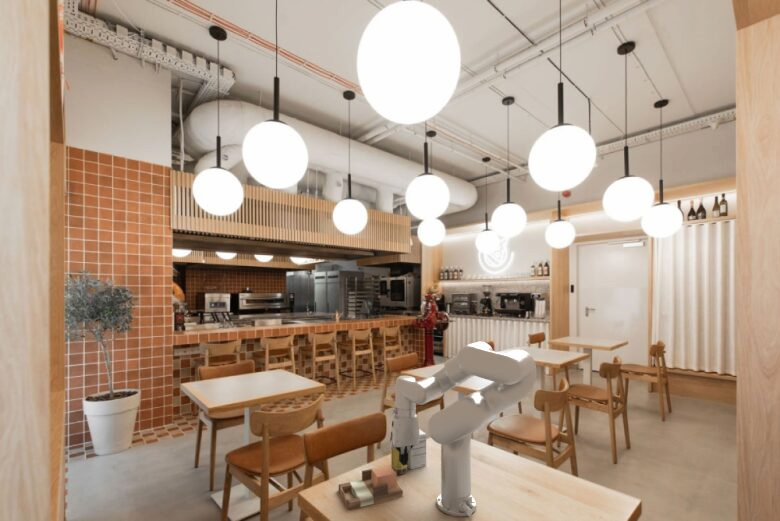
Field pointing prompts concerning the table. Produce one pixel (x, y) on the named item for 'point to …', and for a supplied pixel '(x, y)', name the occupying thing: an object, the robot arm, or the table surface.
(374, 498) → the tunnel board
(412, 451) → the supplement box
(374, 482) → the terracotta block
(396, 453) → the sauce bottle
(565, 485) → the table surface
